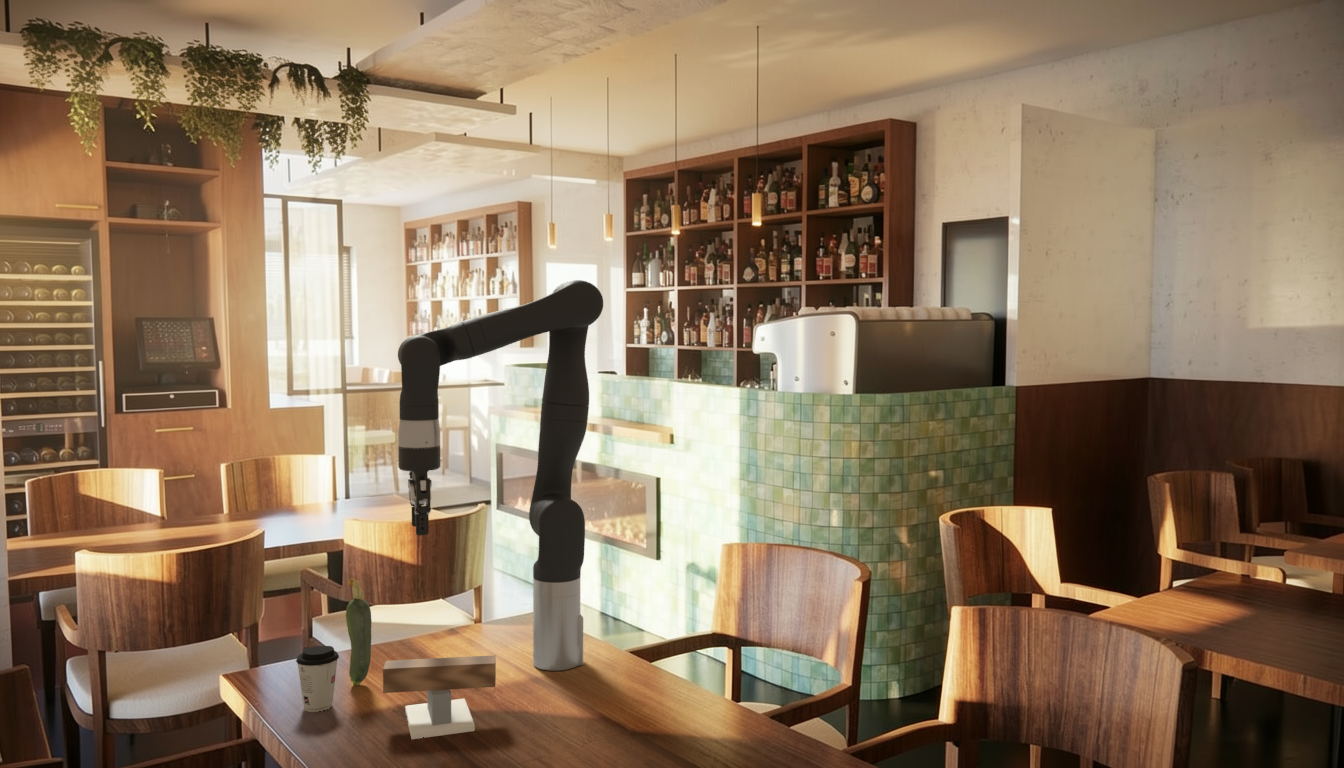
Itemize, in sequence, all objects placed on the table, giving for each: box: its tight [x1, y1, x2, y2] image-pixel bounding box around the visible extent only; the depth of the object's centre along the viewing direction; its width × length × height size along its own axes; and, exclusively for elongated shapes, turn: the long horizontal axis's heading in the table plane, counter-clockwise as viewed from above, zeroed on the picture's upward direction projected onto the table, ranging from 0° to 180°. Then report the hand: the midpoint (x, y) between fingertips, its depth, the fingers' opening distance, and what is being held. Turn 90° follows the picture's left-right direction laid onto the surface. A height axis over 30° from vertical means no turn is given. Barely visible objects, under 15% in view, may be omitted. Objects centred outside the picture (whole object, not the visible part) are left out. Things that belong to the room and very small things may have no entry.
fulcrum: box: [404, 689, 476, 740], centre depth 158 cm, size 10×12×6 cm
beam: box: [382, 655, 497, 694], centre depth 158 cm, size 18×4×4 cm, turn 100°
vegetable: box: [345, 578, 372, 686], centre depth 173 cm, size 4×4×20 cm
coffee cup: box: [295, 645, 340, 713], centre depth 164 cm, size 7×7×10 cm
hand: (419, 530), depth 176 cm, fingers open, 8 cm apart
